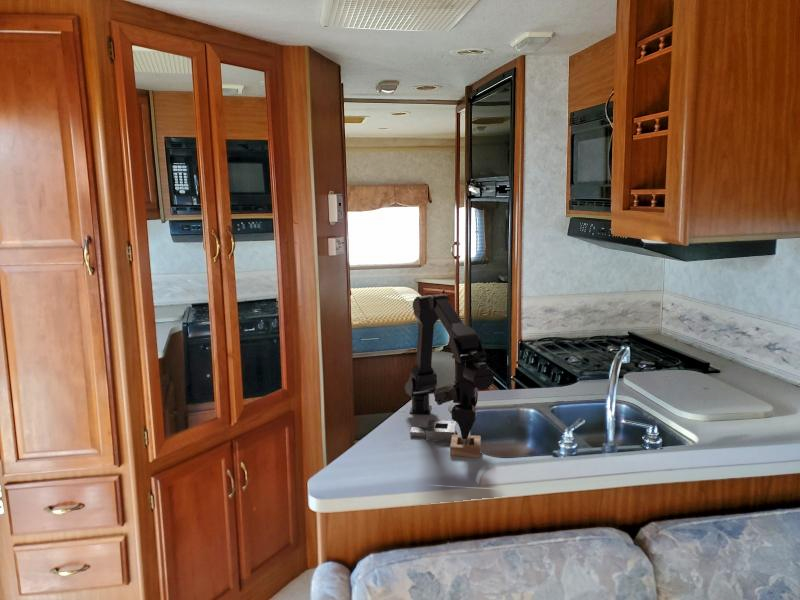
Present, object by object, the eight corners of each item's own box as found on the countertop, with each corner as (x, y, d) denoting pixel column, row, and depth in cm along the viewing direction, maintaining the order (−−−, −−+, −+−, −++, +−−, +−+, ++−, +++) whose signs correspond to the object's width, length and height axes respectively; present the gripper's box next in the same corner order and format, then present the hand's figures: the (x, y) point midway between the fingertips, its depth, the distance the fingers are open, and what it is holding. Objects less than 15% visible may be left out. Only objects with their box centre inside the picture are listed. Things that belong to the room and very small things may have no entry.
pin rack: (452, 442, 172) (452, 434, 172) (480, 444, 171) (480, 435, 171) (450, 455, 165) (450, 447, 164) (479, 457, 163) (479, 448, 163)
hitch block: (413, 428, 183) (412, 419, 182) (456, 430, 180) (456, 421, 180) (409, 440, 175) (408, 430, 174) (454, 442, 173) (454, 432, 172)
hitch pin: (460, 446, 170) (460, 416, 168) (471, 447, 169) (471, 416, 167) (459, 452, 167) (459, 420, 165) (471, 452, 166) (471, 421, 164)
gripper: (439, 366, 174) (439, 417, 177) (431, 389, 156) (432, 445, 159) (478, 367, 172) (478, 418, 175) (475, 390, 154) (475, 447, 157)
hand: (465, 431), depth 167 cm, fingers open, 9 cm apart
